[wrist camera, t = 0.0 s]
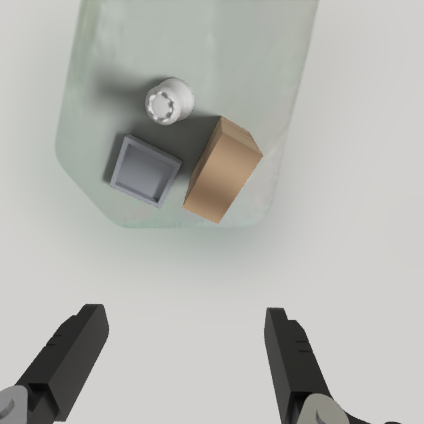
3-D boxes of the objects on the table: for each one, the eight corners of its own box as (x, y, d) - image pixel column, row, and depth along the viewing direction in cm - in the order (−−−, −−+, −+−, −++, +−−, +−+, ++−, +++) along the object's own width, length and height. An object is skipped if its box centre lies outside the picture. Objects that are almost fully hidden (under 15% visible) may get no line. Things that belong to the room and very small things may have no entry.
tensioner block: (221, 115, 27) (222, 132, 18) (249, 132, 28) (262, 155, 19) (189, 177, 31) (178, 214, 23) (215, 189, 32) (213, 230, 23)
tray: (129, 133, 28) (124, 136, 27) (182, 160, 30) (181, 164, 29) (113, 181, 32) (109, 185, 30) (162, 203, 33) (160, 208, 32)
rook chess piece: (193, 122, 28) (185, 136, 21) (157, 118, 27) (136, 131, 21) (196, 80, 25) (187, 80, 18) (156, 75, 25) (132, 74, 18)
